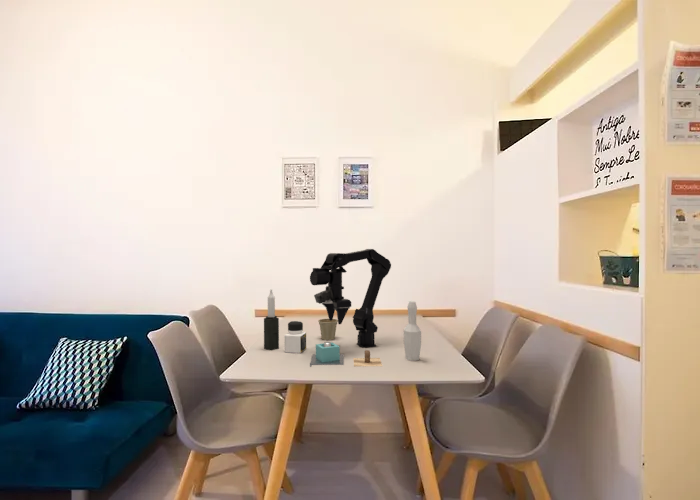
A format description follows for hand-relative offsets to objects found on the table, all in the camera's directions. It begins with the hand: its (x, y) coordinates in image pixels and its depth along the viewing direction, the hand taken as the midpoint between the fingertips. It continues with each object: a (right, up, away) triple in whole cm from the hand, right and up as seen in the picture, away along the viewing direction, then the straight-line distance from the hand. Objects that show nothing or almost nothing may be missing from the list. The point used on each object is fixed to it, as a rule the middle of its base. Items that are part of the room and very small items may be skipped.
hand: (335, 322), depth 155 cm
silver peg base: (-2, -12, -13) cm, 18 cm away
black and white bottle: (-27, -12, +6) cm, 30 cm away
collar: (-2, -11, -13) cm, 17 cm away
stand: (+12, -12, -16) cm, 24 cm away
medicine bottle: (-16, -12, +2) cm, 21 cm away
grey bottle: (+29, -12, -12) cm, 34 cm away
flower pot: (-4, -12, +22) cm, 26 cm away
